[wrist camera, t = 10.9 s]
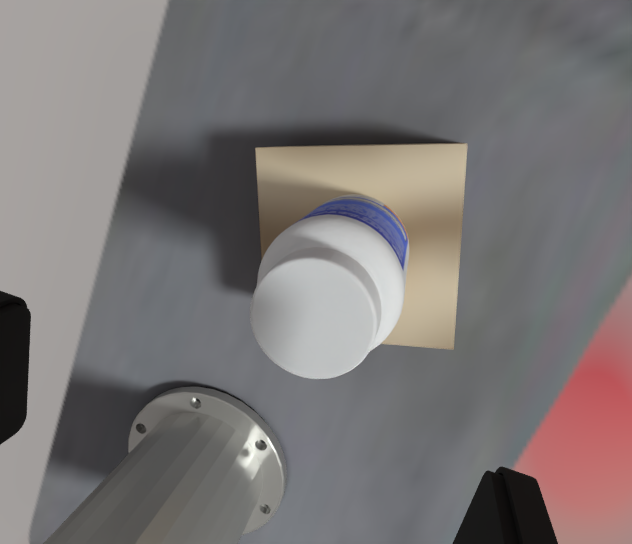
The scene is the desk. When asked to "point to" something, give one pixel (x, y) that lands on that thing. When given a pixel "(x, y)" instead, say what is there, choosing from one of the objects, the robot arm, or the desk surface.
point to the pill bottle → (331, 287)
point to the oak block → (396, 192)
